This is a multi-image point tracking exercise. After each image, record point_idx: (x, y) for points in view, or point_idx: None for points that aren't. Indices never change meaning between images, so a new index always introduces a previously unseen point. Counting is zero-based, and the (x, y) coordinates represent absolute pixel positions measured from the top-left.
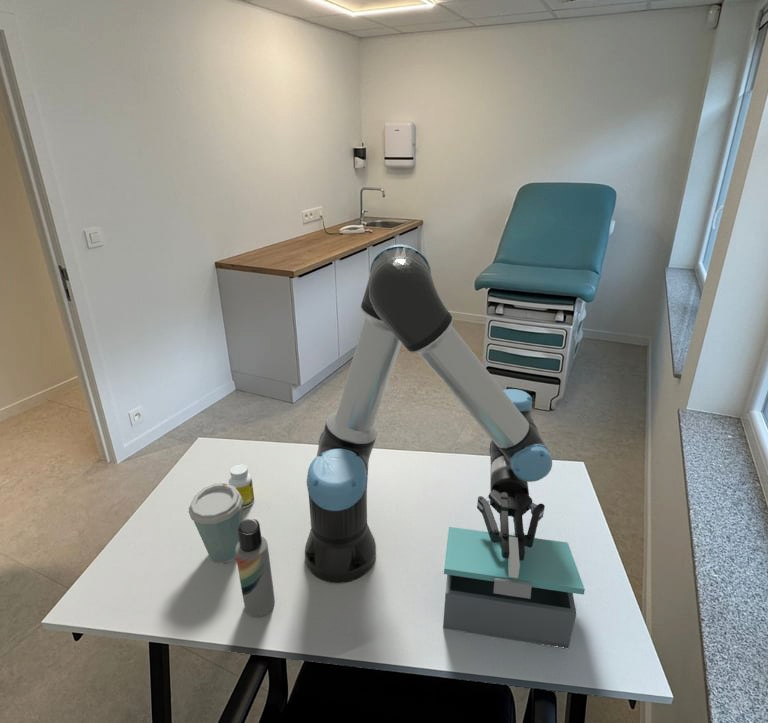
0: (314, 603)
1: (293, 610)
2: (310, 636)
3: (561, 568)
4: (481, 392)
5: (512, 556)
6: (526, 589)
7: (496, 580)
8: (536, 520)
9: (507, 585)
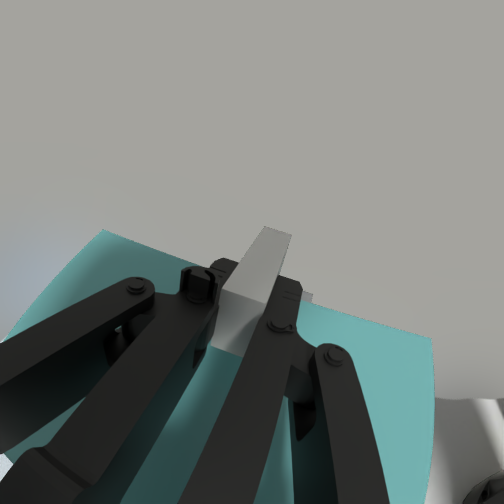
0: (488, 448)
1: (497, 435)
2: (473, 413)
3: (80, 299)
4: None
5: (278, 246)
6: None
7: (308, 293)
8: (19, 340)
9: None
